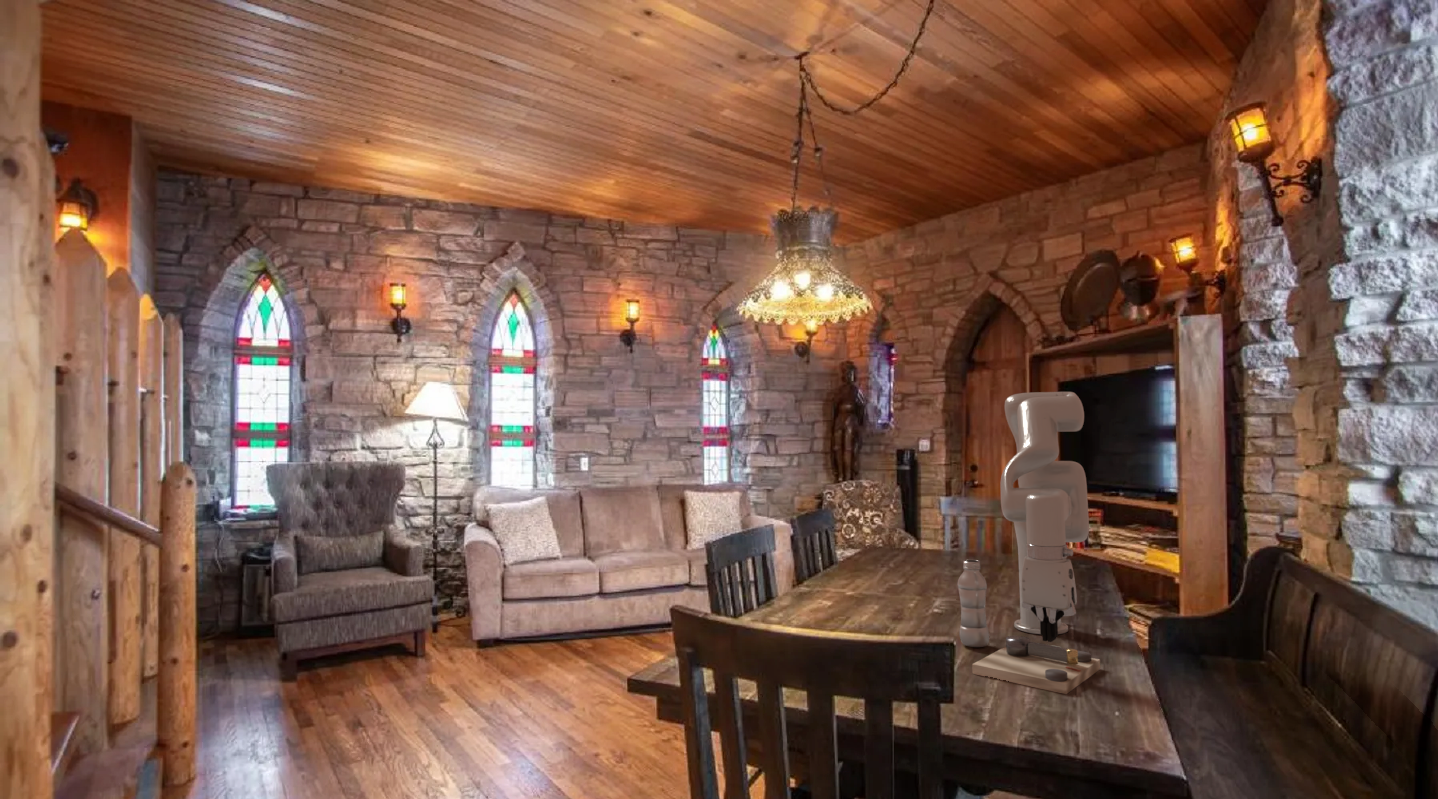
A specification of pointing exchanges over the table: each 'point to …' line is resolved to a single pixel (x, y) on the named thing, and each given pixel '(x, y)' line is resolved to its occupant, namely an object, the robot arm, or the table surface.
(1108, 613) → the table surface
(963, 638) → the plastic bottle
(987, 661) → the plate
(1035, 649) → the grey lever handle
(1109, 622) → the table surface
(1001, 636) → the table surface
